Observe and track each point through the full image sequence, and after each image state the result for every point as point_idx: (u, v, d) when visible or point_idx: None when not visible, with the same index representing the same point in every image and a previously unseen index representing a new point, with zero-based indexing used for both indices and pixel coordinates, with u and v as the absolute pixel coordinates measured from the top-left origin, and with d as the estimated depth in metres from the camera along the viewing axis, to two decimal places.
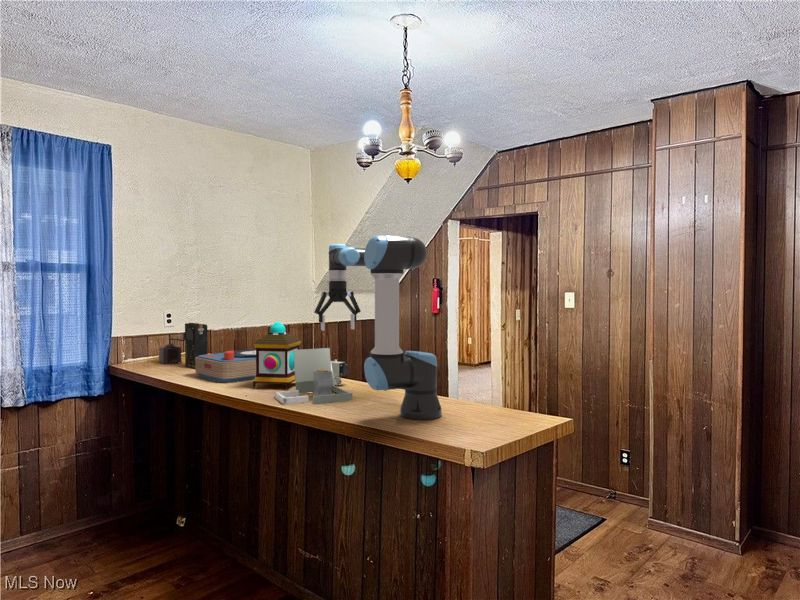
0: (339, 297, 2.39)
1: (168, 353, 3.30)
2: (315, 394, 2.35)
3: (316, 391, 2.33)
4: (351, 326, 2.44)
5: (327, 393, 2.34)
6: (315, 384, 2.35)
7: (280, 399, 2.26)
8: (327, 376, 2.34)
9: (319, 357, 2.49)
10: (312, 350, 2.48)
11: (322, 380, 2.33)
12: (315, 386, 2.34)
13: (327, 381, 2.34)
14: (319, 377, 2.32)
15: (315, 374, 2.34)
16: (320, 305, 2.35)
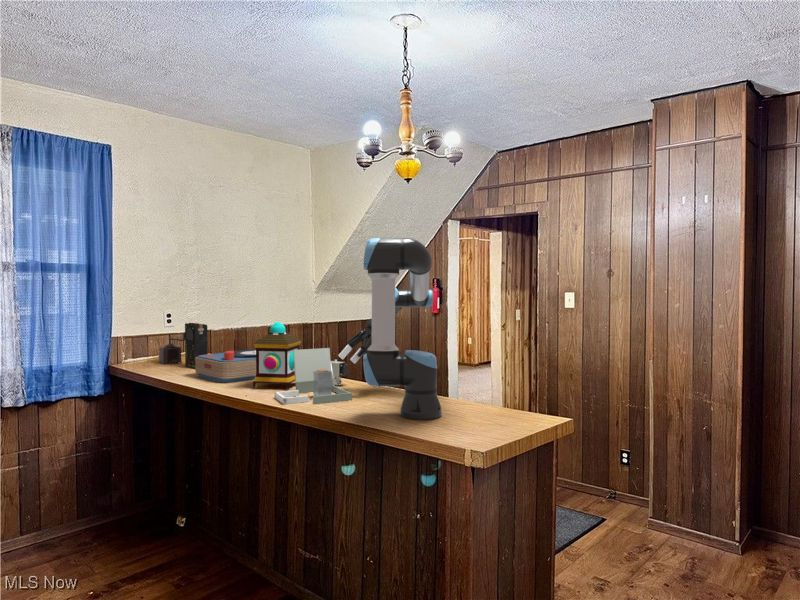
0: None
1: (168, 353, 3.30)
2: (315, 394, 2.35)
3: (316, 391, 2.33)
4: None
5: (327, 393, 2.34)
6: (315, 384, 2.35)
7: (280, 399, 2.26)
8: (327, 376, 2.34)
9: (319, 357, 2.49)
10: (312, 350, 2.48)
11: (322, 380, 2.33)
12: (315, 386, 2.34)
13: (327, 381, 2.34)
14: (319, 377, 2.32)
15: (315, 374, 2.34)
16: (353, 337, 2.50)
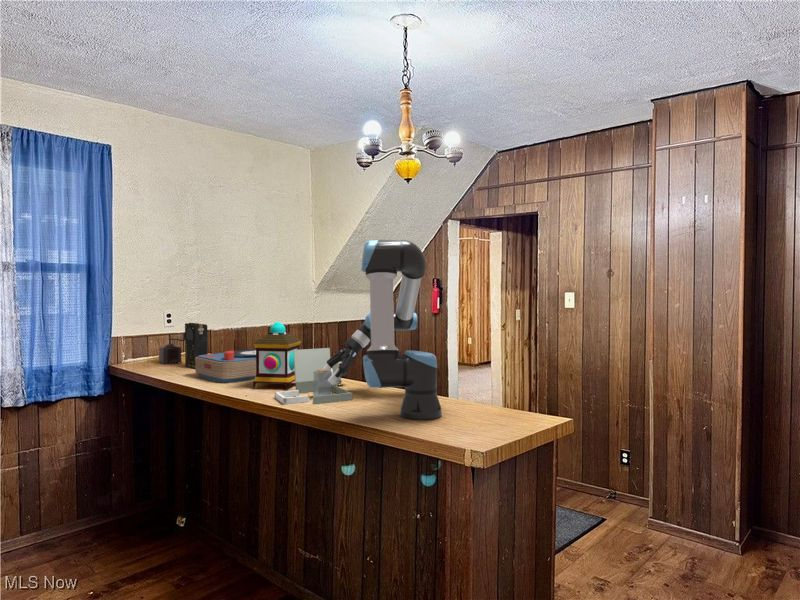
0: None
1: (168, 353, 3.30)
2: (315, 394, 2.35)
3: (316, 391, 2.33)
4: None
5: (327, 393, 2.34)
6: (315, 384, 2.35)
7: (280, 399, 2.26)
8: (327, 376, 2.34)
9: (319, 357, 2.49)
10: (312, 350, 2.48)
11: (322, 380, 2.33)
12: (315, 386, 2.34)
13: (327, 381, 2.34)
14: (319, 377, 2.32)
15: (315, 374, 2.34)
16: (332, 356, 2.47)
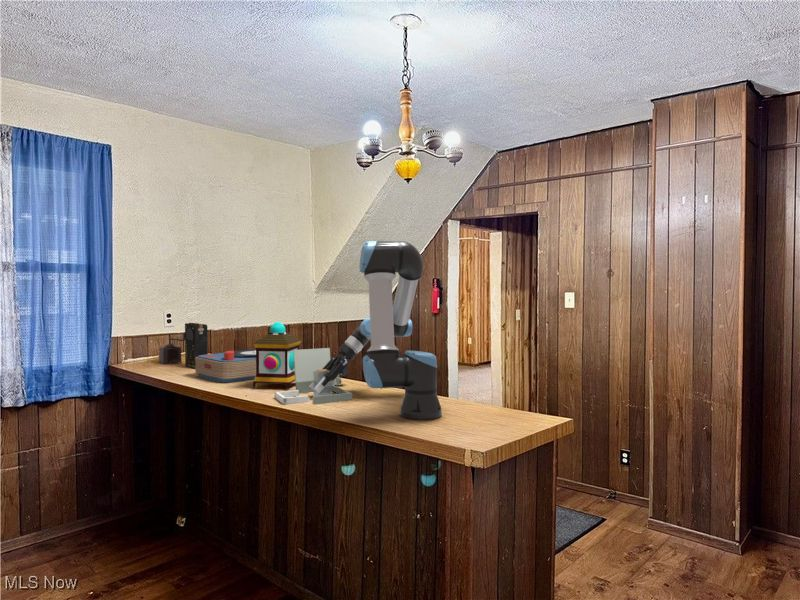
0: None
1: (168, 353, 3.30)
2: (315, 394, 2.35)
3: (316, 391, 2.33)
4: None
5: (327, 393, 2.34)
6: (315, 384, 2.35)
7: (280, 399, 2.26)
8: None
9: (319, 357, 2.49)
10: (312, 350, 2.48)
11: None
12: (315, 386, 2.34)
13: None
14: (319, 377, 2.32)
15: (315, 374, 2.34)
16: (324, 366, 2.42)
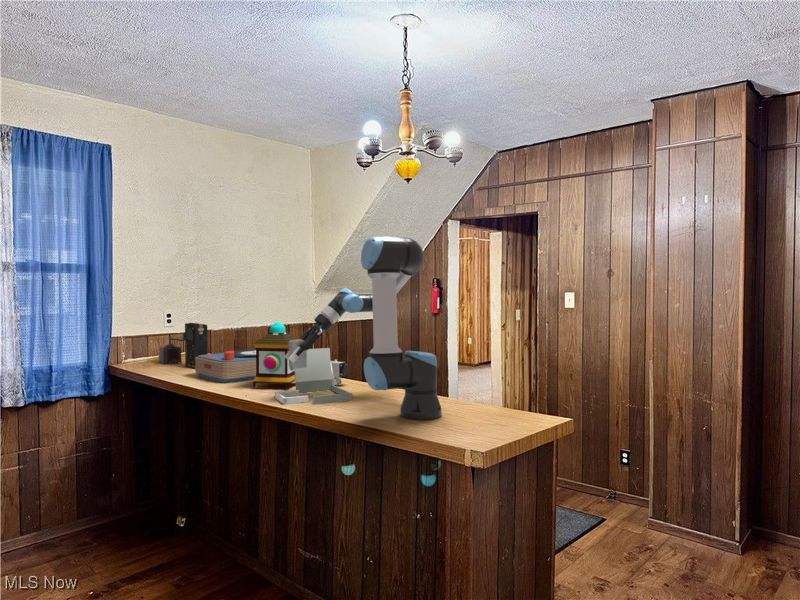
0: None
1: (168, 353, 3.30)
2: (290, 364, 2.30)
3: None
4: None
5: (302, 363, 2.30)
6: (290, 354, 2.30)
7: (280, 399, 2.26)
8: None
9: (319, 357, 2.49)
10: (312, 350, 2.48)
11: None
12: None
13: None
14: (293, 347, 2.28)
15: (290, 344, 2.30)
16: (301, 337, 2.38)
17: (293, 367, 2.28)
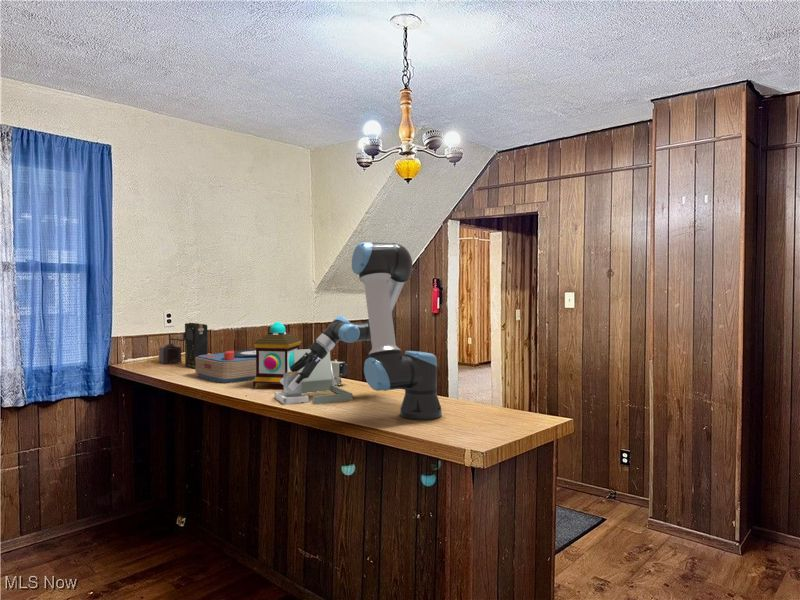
0: (308, 358, 2.32)
1: (168, 353, 3.30)
2: None
3: (286, 393, 2.27)
4: None
5: None
6: (285, 387, 2.29)
7: (280, 399, 2.26)
8: None
9: None
10: None
11: None
12: (285, 389, 2.28)
13: None
14: (289, 380, 2.26)
15: (285, 376, 2.28)
16: (296, 362, 2.38)
17: None
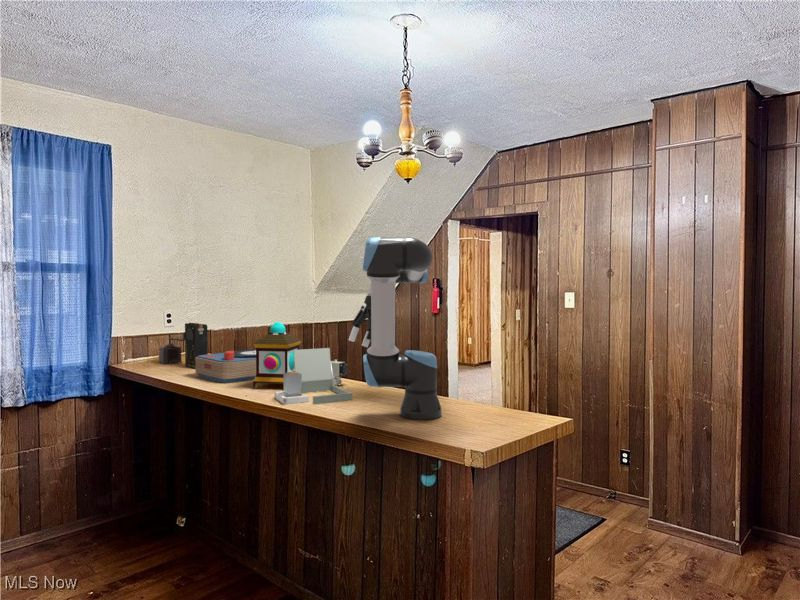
0: (367, 312, 2.40)
1: (168, 353, 3.30)
2: None
3: (286, 393, 2.27)
4: None
5: None
6: (285, 387, 2.29)
7: (280, 399, 2.26)
8: (297, 378, 2.28)
9: (319, 357, 2.49)
10: (312, 350, 2.48)
11: (292, 382, 2.27)
12: (285, 389, 2.28)
13: (297, 383, 2.28)
14: (289, 380, 2.26)
15: (285, 376, 2.28)
16: (356, 317, 2.48)
17: None
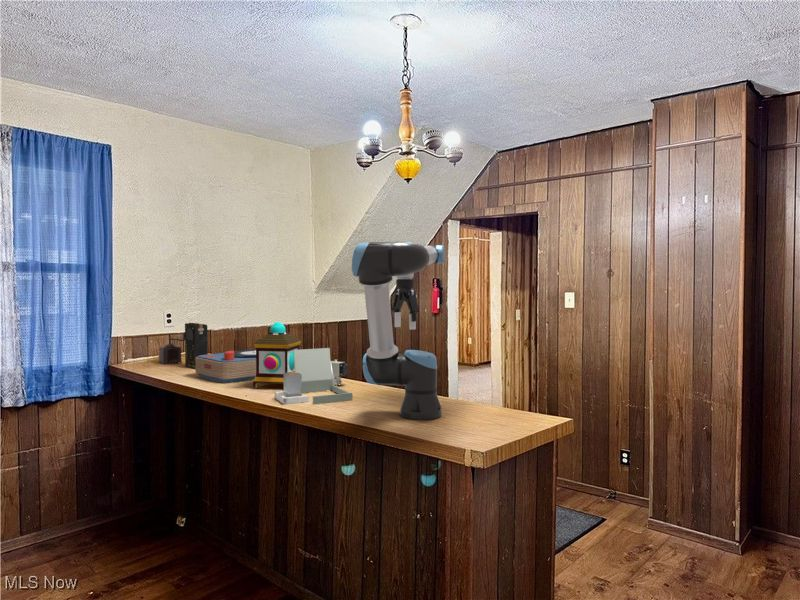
0: (403, 295, 2.38)
1: (168, 353, 3.30)
2: None
3: (286, 393, 2.27)
4: None
5: None
6: (285, 387, 2.29)
7: (280, 399, 2.26)
8: (297, 378, 2.28)
9: (319, 357, 2.49)
10: (312, 350, 2.48)
11: (292, 382, 2.27)
12: (285, 389, 2.28)
13: (297, 383, 2.28)
14: (289, 379, 2.26)
15: (285, 376, 2.28)
16: (393, 302, 2.46)
17: None
